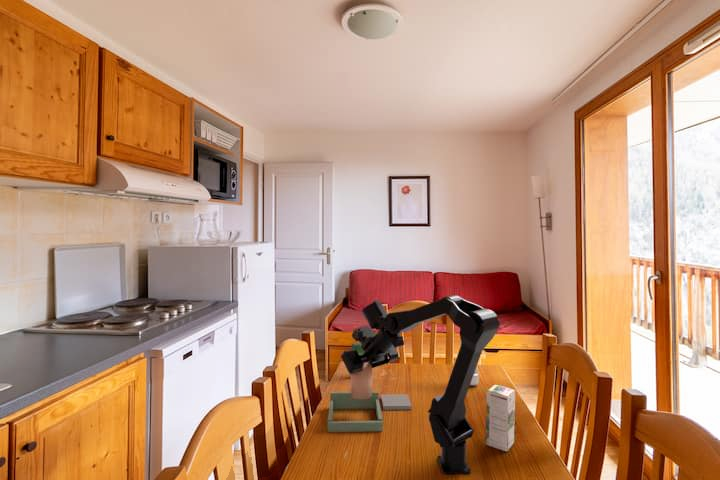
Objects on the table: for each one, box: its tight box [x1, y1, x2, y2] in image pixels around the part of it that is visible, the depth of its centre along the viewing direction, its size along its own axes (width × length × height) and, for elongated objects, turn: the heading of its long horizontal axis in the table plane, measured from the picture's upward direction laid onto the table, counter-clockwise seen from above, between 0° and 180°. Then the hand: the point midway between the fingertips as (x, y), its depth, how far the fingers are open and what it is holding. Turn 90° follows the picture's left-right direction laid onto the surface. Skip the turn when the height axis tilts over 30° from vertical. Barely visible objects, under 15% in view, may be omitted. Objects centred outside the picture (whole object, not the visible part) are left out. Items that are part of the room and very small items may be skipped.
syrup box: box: [485, 384, 516, 452], centre depth 100 cm, size 6×6×14 cm
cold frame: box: [327, 390, 384, 433], centre depth 114 cm, size 16×16×5 cm
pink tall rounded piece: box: [350, 363, 373, 399], centre depth 116 cm, size 6×6×9 cm
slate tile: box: [380, 393, 413, 411], centre depth 125 cm, size 9×9×1 cm
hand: (358, 370), depth 118 cm, fingers closed on pink tall rounded piece, 6 cm apart
